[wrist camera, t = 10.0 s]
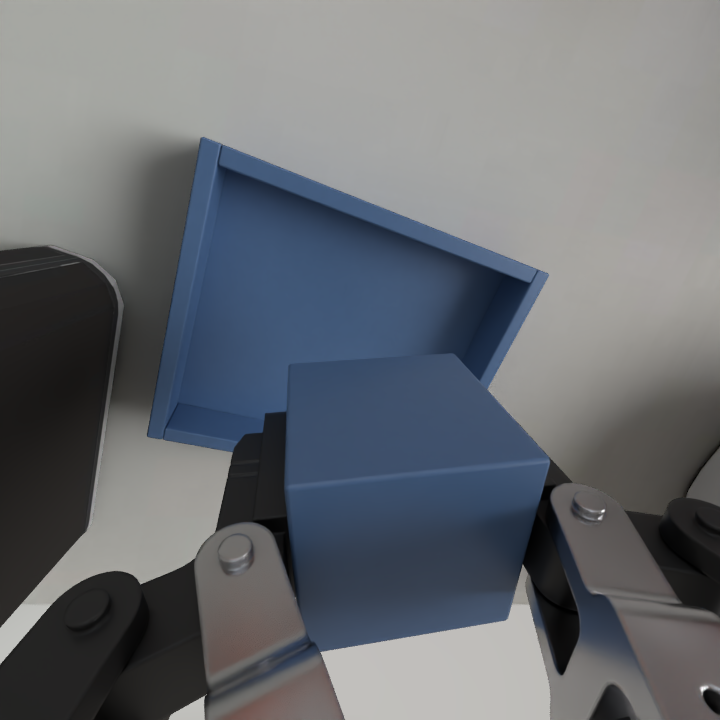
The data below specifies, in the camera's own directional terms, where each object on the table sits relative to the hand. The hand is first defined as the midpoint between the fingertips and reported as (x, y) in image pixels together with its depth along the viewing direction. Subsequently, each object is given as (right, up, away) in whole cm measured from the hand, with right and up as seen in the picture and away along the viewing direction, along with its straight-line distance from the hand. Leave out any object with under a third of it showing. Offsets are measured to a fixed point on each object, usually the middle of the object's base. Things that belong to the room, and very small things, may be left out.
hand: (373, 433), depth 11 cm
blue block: (0, 0, 0) cm, 0 cm away
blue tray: (-1, +3, +7) cm, 8 cm away
